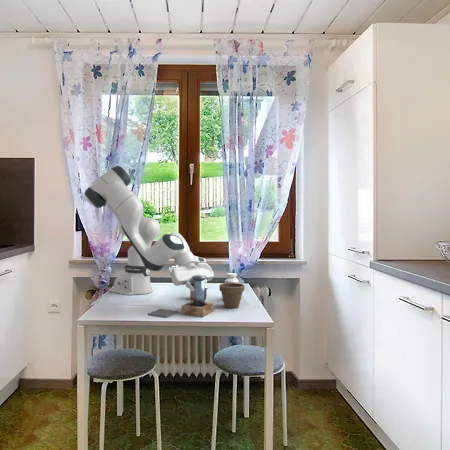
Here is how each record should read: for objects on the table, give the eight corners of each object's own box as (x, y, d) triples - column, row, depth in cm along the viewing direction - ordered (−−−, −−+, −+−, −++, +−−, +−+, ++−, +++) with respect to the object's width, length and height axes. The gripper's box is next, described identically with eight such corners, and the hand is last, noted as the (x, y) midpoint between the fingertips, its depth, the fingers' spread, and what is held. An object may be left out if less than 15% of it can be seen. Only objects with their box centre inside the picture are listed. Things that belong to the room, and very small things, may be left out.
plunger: (189, 309, 168) (190, 276, 167) (196, 306, 173) (196, 274, 173) (202, 310, 166) (202, 278, 165) (208, 307, 171) (208, 275, 170)
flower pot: (228, 302, 188) (228, 281, 188) (248, 306, 182) (249, 284, 181) (213, 307, 179) (214, 285, 178) (234, 311, 172) (235, 288, 172)
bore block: (181, 314, 167) (181, 305, 166) (192, 308, 176) (192, 300, 176) (202, 317, 163) (203, 308, 163) (213, 311, 172) (213, 303, 172)
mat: (148, 314, 164) (148, 313, 164) (160, 309, 173) (160, 308, 173) (166, 317, 161) (166, 316, 161) (178, 312, 169) (178, 311, 169)
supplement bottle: (238, 298, 197) (238, 272, 196) (238, 301, 190) (238, 275, 189) (224, 298, 197) (225, 272, 196) (224, 301, 190) (224, 274, 190)
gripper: (169, 261, 167) (182, 288, 160) (208, 258, 180) (221, 283, 174) (163, 270, 171) (176, 297, 164) (201, 266, 184) (215, 291, 177)
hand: (200, 290), depth 169 cm, fingers closed on plunger, 5 cm apart
